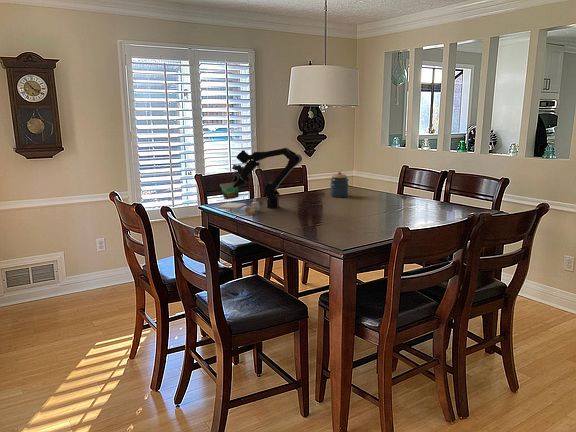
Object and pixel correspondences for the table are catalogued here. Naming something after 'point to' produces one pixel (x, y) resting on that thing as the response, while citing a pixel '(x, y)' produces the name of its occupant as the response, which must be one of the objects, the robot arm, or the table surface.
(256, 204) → the grey plastic cylinder
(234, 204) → the cream tile
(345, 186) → the canister
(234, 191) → the food container
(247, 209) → the birch block
